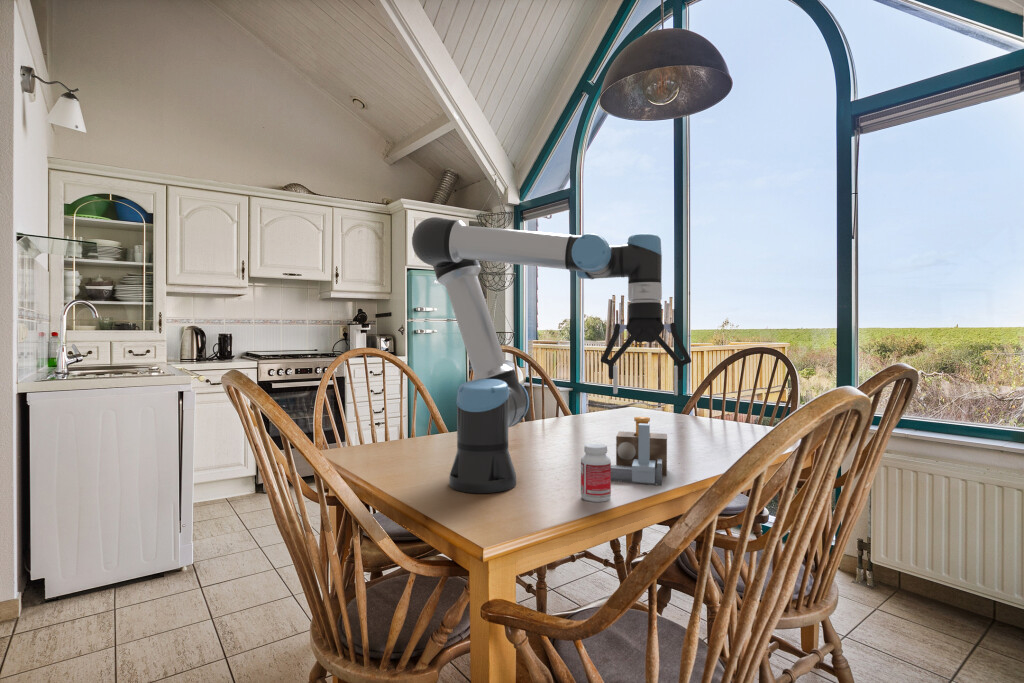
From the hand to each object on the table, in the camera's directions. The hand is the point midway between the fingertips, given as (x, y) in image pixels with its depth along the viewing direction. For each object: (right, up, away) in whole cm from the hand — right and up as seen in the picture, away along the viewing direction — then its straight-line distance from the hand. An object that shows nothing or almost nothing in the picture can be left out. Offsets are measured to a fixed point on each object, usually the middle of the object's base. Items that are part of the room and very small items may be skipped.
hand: (645, 394), depth 125 cm
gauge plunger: (+2, -14, +10) cm, 17 cm away
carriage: (0, -20, 0) cm, 20 cm away
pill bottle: (-13, -21, -12) cm, 28 cm away
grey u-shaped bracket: (-5, -20, +2) cm, 21 cm away
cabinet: (+2, -20, +10) cm, 23 cm away
